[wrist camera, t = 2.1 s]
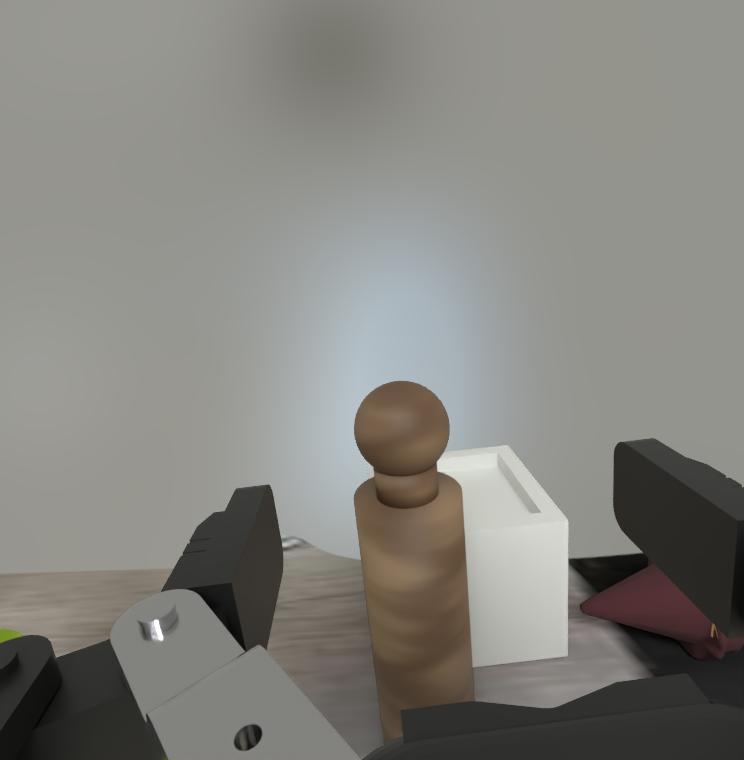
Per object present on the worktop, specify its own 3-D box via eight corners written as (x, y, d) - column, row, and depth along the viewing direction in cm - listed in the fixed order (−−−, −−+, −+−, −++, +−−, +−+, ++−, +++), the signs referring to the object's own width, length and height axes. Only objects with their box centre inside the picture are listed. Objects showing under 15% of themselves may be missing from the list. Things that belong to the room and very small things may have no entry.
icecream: (628, 626, 27) (877, 602, 28) (566, 524, 33) (771, 509, 35) (597, 699, 30) (821, 674, 32) (546, 593, 37) (734, 577, 38)
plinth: (388, 677, 33) (373, 542, 30) (378, 565, 44) (366, 461, 42) (567, 656, 33) (568, 520, 30) (510, 550, 44) (507, 445, 42)
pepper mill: (388, 803, 25) (339, 406, 20) (382, 711, 30) (341, 374, 25) (488, 790, 25) (467, 392, 20) (465, 701, 30) (443, 363, 25)
